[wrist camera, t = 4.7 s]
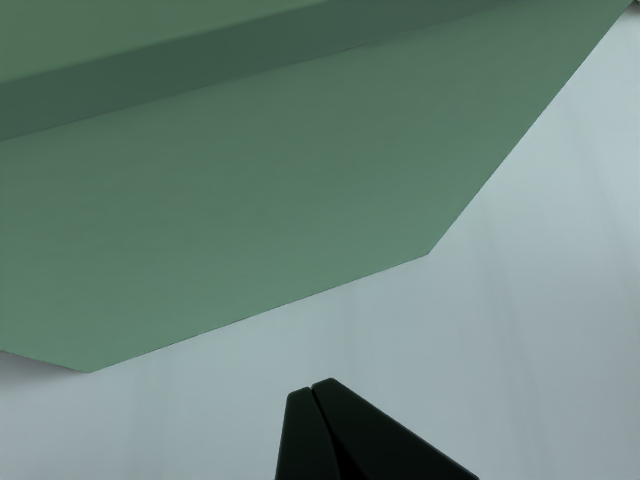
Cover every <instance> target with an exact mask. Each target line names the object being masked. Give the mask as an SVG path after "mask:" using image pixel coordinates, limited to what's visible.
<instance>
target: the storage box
mask: <svg viewBox="0 0 640 480" xmlns="http://www.w3.org/2000/svg"><path fill="white" fill-rule="evenodd" d="M632 1H633V0H0V350H1V351H5V352H9V353H13V354H16V355H20V356H24V357H28V358H32V359H36V360H39V361H43V362H47V363H51V364H55V365H58V366H62V367H66V368H70V369H74V370H78V371H81V372H85V373H91V372H93V371H96V370H99V369H102V368H105V367H108V366H111V365H113V364H116V363H119V362H122V361H125V360H128V359H131V358H133V357H136V356H139V355H142V354H145V353H148V352H150V351H153V350H156V349H159V348H162V347H165V346H168V345H170V344H173V343H176V342H179V341H182V340H185V339H188V338H190V337H193V336H196V335H199V334H202V333H205V332H208V331H210V330H213V329H216V328H219V327H222V326H225V325H228V324H230V323H233V322H236V321H239V320H242V319H245V318H247V317H250V316H253V315H256V314H259V313H262V312H265V311H267V310H270V309H273V308H276V307H279V306H282V305H285V304H287V303H290V302H293V301H296V300H299V299H302V298H305V297H307V296H310V295H313V294H316V293H319V292H322V291H325V290H327V289H330V288H333V287H336V286H339V285H342V284H345V283H347V282H350V281H353V280H356V279H359V278H362V277H364V276H367V275H370V274H373V273H376V272H379V271H382V270H384V269H387V268H390V267H393V266H396V265H399V264H402V263H404V262H407V261H410V260H413V259H416V258H419V257H422V256H424V255H427V254H428V253H429V252H430V251H431V250H432V248H433V247H434V246H435V245H436V244H437V242H438V241H439V240H440V239H441V237H442V236H443V235H444V234H445V232H446V231H447V230H448V229H449V227H450V226H451V225H452V224H453V222H454V221H455V220H456V219H457V217H458V216H459V215H460V214H461V213H462V211H463V210H464V209H465V208H466V206H467V205H468V204H469V203H470V201H471V200H472V199H473V198H474V196H475V195H476V194H477V193H478V191H479V190H480V189H481V188H482V186H483V185H484V184H485V183H486V182H487V180H488V179H489V178H490V177H491V175H492V174H493V173H494V172H495V170H496V169H497V168H498V167H499V165H500V164H501V163H502V162H503V160H504V159H505V158H506V157H507V156H508V154H509V153H510V152H511V151H512V149H513V148H514V147H515V146H516V144H517V143H518V142H519V141H520V139H521V138H522V137H523V136H524V134H525V133H526V132H527V131H528V129H529V128H530V127H531V126H532V125H533V123H534V122H535V121H536V120H537V118H538V117H539V116H540V115H541V113H542V112H543V111H544V110H545V108H546V107H547V106H548V105H549V103H550V102H551V101H552V100H553V98H554V97H555V96H556V95H557V94H558V92H559V91H560V90H561V89H562V87H563V86H564V85H565V84H566V82H567V81H568V80H569V79H570V77H571V76H572V75H573V74H574V72H575V71H576V70H577V69H578V67H579V66H580V65H581V64H582V63H583V61H584V60H585V59H586V58H587V56H588V55H589V54H590V53H591V51H592V50H593V49H594V48H595V46H596V45H597V44H598V43H599V41H600V40H601V39H602V38H603V37H604V35H605V34H606V33H607V32H608V30H609V29H610V28H611V27H612V25H613V24H614V23H615V22H616V20H617V19H618V18H619V17H620V15H621V14H622V13H623V12H624V10H625V9H626V8H627V7H628V6H629V4H630V3H631V2H632Z"/></svg>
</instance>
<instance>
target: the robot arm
mask: <svg viewBox="0 0 640 480" xmlns="http://www.w3.org/2000/svg"><path fill="white" fill-rule="evenodd" d="M275 480H479V478H478V477H477V476H476V475H474V474H473V473H471V472H470V471H469V470H467V469H466V468H464V467H463V466H461V465H460V464H458V463H457V462H455V461H454V460H452V459H451V458H450V457H448V456H447V455H445V454H444V453H442V452H441V451H439V450H438V449H436V448H435V447H433V446H432V445H430V444H429V443H428V442H426V441H425V440H423V439H422V438H420V437H419V436H417V435H416V434H414V433H413V432H411V431H410V430H409V429H407V428H406V427H404V426H403V425H401V424H400V423H398V422H397V421H395V420H394V419H392V418H391V417H390V416H388V415H387V414H385V413H384V412H382V411H381V410H379V409H378V408H376V407H375V406H373V405H372V404H371V403H369V402H368V401H366V400H365V399H363V398H362V397H360V396H359V395H357V394H356V393H354V392H353V391H352V390H350V389H349V388H347V387H346V386H344V385H343V384H341V383H340V382H338V381H337V380H335V379H334V378H328V379H325V380H323V381H320V382H317V383H315V384H313V385H312V387H311V388H309V387H304V388H302V389H299V390H297V391H294V392H291V393H289V395H288V397H287V401H286V408H285V414H284V421H283V427H282V434H281V441H280V447H279V454H278V461H277V467H276V474H275Z"/></svg>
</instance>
